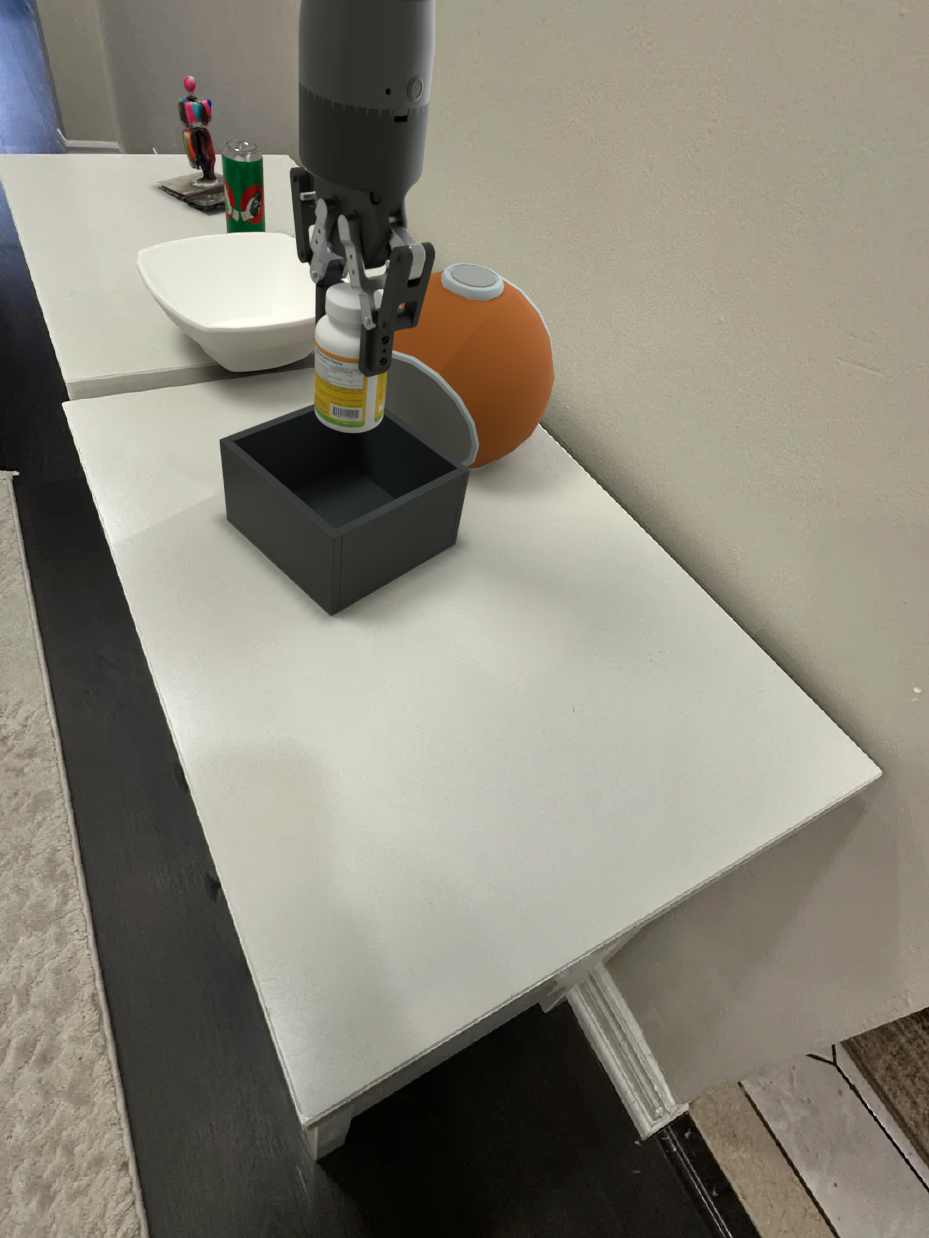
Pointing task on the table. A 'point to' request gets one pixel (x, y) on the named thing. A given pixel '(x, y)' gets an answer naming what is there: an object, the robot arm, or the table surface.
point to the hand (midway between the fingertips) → (351, 351)
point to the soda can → (243, 187)
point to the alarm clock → (472, 366)
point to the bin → (342, 501)
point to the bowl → (236, 296)
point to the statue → (197, 154)
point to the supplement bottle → (345, 366)
